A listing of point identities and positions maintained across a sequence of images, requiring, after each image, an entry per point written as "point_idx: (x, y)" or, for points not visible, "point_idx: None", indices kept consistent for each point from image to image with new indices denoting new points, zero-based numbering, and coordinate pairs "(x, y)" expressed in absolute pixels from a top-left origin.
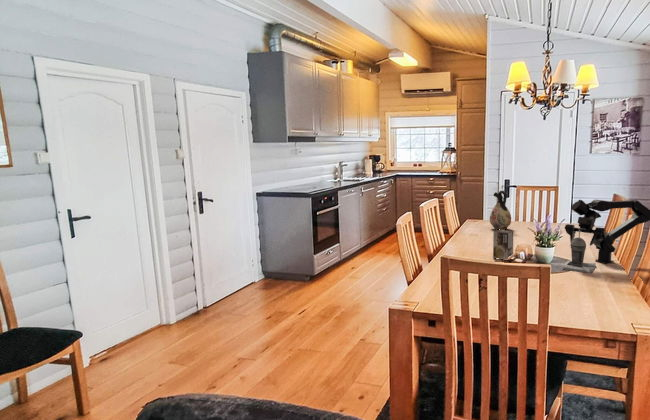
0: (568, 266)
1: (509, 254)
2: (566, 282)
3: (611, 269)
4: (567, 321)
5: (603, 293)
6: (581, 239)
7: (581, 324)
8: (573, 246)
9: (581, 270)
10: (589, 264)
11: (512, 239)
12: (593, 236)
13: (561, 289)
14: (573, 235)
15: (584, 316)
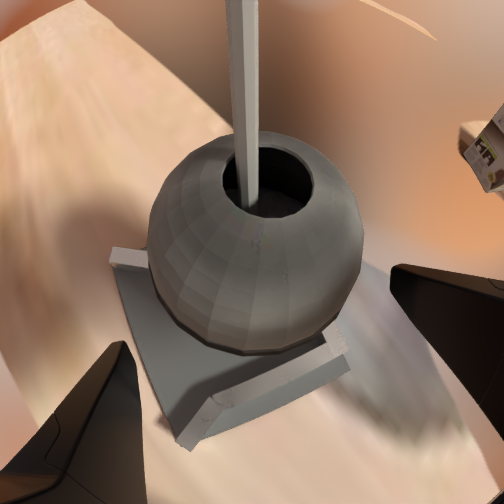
0: None
1: (483, 147)
2: (134, 83)
3: None
4: (67, 8)
5: (23, 100)
6: (192, 175)
7: (50, 15)
8: (259, 170)
9: None
10: (202, 406)
11: None
12: (56, 453)
13: (120, 47)
14: (499, 366)
15: (49, 24)
